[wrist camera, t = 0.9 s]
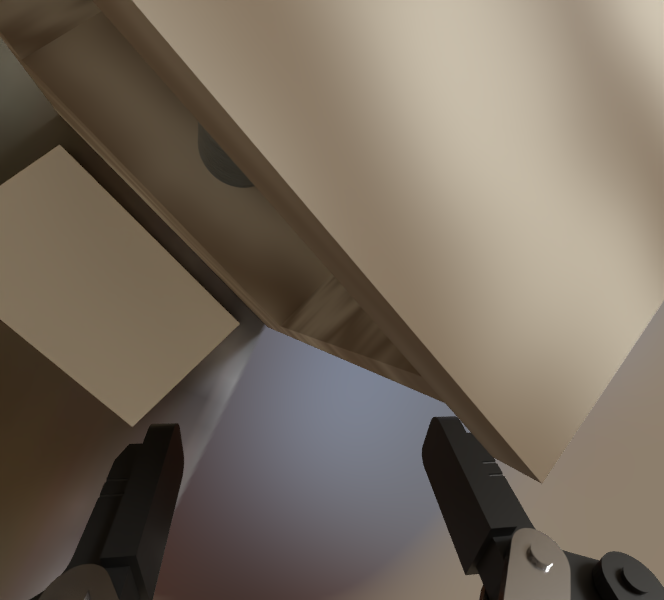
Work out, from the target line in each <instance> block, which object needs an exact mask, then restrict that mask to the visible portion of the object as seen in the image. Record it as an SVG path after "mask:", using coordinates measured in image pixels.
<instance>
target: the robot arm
mask: <svg viewBox="0 0 664 600" xmlns="http://www.w3.org/2000/svg"><path fill="white" fill-rule="evenodd" d="M422 459H423V465H424V468H425V470H426V473H427V476H428V478H429V481H430V483H431V486H432V489H433V491H434V494H435V497H436V499H437V502H438V504H439V507H440V510H441V512H442V515H443V518H444V520H445V523H446V525H447V528H448V531H449V533H450V536H451V538H452V541H453V544H454V546H455V549H456V552H457V554H458V557H459V559H460V562H461V565H462V567H463V570H464V572H465V575H471V574H479V575H480V577H481V580H482V582H483V586H482V589H481V593H480V598H479V600H664V587H663V586H662V585H661V583H660V582H659V581H658V579H657V578H656V577H655V575H654V574H653V573H652V572H651V571H650V570H649V569H648V568H646V567H645V566H644V565H643V564H642V563H641V562H639V561H638V560H636V559H635V558H633V557H631V556H629V555H627V554H624V553H621V552H615V551H613V552H608V553H606V554H605V555H604V556H603V557H602V558H601V559H600V561H599V560H595V559H592V558H588V557H585V556H581V555H577V554H574V553H570V552H567V551H564V550H562V549H561V548H560V547H559V546H558V545H557V543H556V542H555V541H553V540H552V539H551V538H550V537H549V536H547V535H546V534H544V533H542V532H540V531H538V530H536V529H535V528H534V526H533V525H532V523H531V522H530V520H529V518H528V516H527V515H526V513H525V511H524V510H523V508H522V506H521V504H520V502H519V501H518V499H517V497H516V496H515V494H514V492H513V490H512V489H511V487H510V485H509V484H508V482H507V480H506V478H505V477H504V476H503V475H502V471H501V470H500V468H499V466H498V464H496V463H495V459H494V457H492V456H491V455H490V453H489V452H488V451H487V450H486V449H485V448H484V447H483V446H482V444H481V443H480V442H479V441H478V440H477V439H476V438H475V436H474V435H473V434H472V433H466V431H465V429H464V427H463V425H462V423H461V422H460V420H459V419H458V418H457V417H455V416H454V417H433V418H432V420H431V422H430V425H429V428H428V431H427V435H426V438H425V441H424V444H423V447H422ZM183 469H184V453H183V447H182V440H181V433H180V427H179V424H178V423H175V424H151V425H150V427H149V429H148V431H147V434H146V436H145V439H144V442H143V444H129V445H128V446H127V447H126V448H125V449H124V451H123V452H122V453H121V454H120V455H119V456H118V457H117V458H116V459H115V461H114V463H113V465H112V468H111V470H110V472H109V475H108V477H107V481H106V482H105V484H104V486H103V488H102V491H101V493H100V498H98V500H97V502H96V504H95V507H94V509H93V511H92V514H91V516H90V518H89V521H88V523H87V525H86V528H85V530H84V532H83V534H82V537H81V539H80V541H79V544H78V546H77V548H76V551H75V553H74V555H73V557H72V559H71V561H70V563H69V565H68V566H67V568H66V569H65V571H64V572H63V573H62V574H61V575H60V576H59V577H57V578H56V579H55V580H54V581H53V582H52V583H51V584H50V585H49V586H48V587H47V588H46V590H44V591H43V592H41V593H40V594H38V595H37V596H35V597H33V598H32V599H30V600H153V596H154V592H155V587H156V583H157V579H158V575H159V571H160V567H161V563H162V559H163V555H164V550H165V546H166V542H167V538H168V534H169V530H170V526H171V521H172V518H173V513H174V509H175V505H176V501H177V497H178V493H179V489H180V485H181V481H182V476H183Z"/></svg>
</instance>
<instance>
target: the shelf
mask: <svg viewBox="0 0 664 600" xmlns="http://www.w3.org/2000/svg"><path fill="white" fill-rule="evenodd" d="M0 37H1V38H2V39H3V41H4V42H5V43H6V45H7V46H8V47H9V49H10V50H11V51H12V53H13V54H14V55H15V57H16V58H17V59H18V61H19V62H20V63H21V65H22V66H23V67H24V69H25V70H26V71H27V73H28V74H29V75H30V77H31V78H32V79H33V81H34V82H35V83H36V85H37V86H38V87H39V89H40V90H41V91H42V93H43V94H44V95H45V97H46V98H47V99H48V101H49V102H50V103H51V105H52V106H53V107H54V109H55V110H56V111H57V113H58V114H59V115H60V116H61V117H62V118H63V119H64V120H65V121H66V122H67V123H68V124H69V125H70V126H71V127H72V128H73V129H74V130H75V131H76V132H77V133H78V134H79V135H80V136H81V137H82V138H83V139H84V140H85V141H86V142H87V143H88V144H89V145H90V146H91V147H92V148H93V150H94V151H95V152H96V153H97V154H98V155H99V156H100V157H101V158H102V159H103V160H104V161H105V162H106V163H107V164H108V165H109V166H110V167H111V168H112V169H113V170H114V171H115V172H116V173H117V174H118V175H119V176H120V177H121V178H122V179H123V180H124V181H125V182H126V183H127V184H128V185H129V186H130V187H131V188H132V189H133V190H134V191H135V192H136V193H137V194H138V195H139V196H140V197H141V198H142V199H143V200H144V201H145V202H146V203H147V204H148V206H149V207H150V208H151V209H152V210H153V211H154V212H155V213H156V214H157V215H158V216H159V217H160V218H161V219H162V220H163V221H164V222H165V223H166V224H167V225H168V226H169V227H170V228H171V229H172V230H173V231H174V232H175V233H176V234H177V235H178V236H179V237H180V238H181V239H182V240H183V241H184V242H185V243H186V244H187V245H188V246H189V247H190V248H191V249H192V250H193V251H194V252H195V253H196V254H197V255H198V256H199V257H200V258H201V259H202V261H203V262H204V263H205V264H206V265H207V266H208V267H209V268H210V269H211V270H212V271H213V272H214V273H215V274H216V275H217V276H218V277H219V278H220V279H221V280H222V281H223V282H224V283H225V284H226V285H227V286H228V287H229V288H230V289H231V290H232V291H233V292H234V293H235V294H236V295H237V296H238V297H239V298H240V299H241V300H242V301H243V302H244V303H245V304H246V305H247V306H248V307H249V308H250V309H251V310H252V311H253V312H254V313H255V314H256V315H257V317H258V318H259V319H260V320H261V321H262V322H263V323H264V324H265V325H266V326H267V327H269V328H271V329H273V330H276V331H278V332H281V333H283V334H285V335H287V336H290V337H292V338H295V339H297V340H299V341H302V342H304V343H306V344H308V345H311V346H313V347H315V348H318V349H320V350H323V351H325V352H327V353H329V354H332V355H334V356H337V357H339V358H341V359H343V360H346V361H348V362H350V363H353V364H355V365H357V366H360V367H362V368H365V369H367V370H369V371H372V372H374V373H376V374H379V375H381V376H383V377H385V378H388V379H391V380H392V381H395V382H397V383H400V384H402V385H404V386H407V387H409V388H411V389H414V390H416V391H418V392H421V393H423V394H425V395H428V396H430V397H433V398H435V399H437V400H439V401H442V402H444V403H446V404H447V406H448V407H449V408H450V409H451V410H452V411H453V412H454V414H455V415H456V416H457V417H458V418H459V419H460V420H461V422H462V423H463V424H464V425H465V426H466V427H467V428H468V430H469V431H470V432H471V433H472V434H473V435H474V436H475V438H476V439H477V440H478V441H479V442H480V443H481V444H482V446H483V447H484V448H485V449H486V450H487V451H488V452H489V453H490V455H491V456H492V457H494V458H495V459H497V460H499V461H501V462H503V463H505V464H507V465H509V466H510V467H512V468H514V469H516V470H518V471H520V472H522V473H523V474H525V475H527V476H529V477H531V478H532V479H534V480H536V481H538V482H540V483H543V481H544V480H545V479H546V477H547V476H548V474H549V472H550V471H551V469H552V468H553V466H554V465H555V463H556V462H557V460H558V459H559V457H560V456H561V454H562V453H563V451H564V450H565V448H566V447H567V445H568V444H569V442H570V441H571V439H572V438H573V436H574V435H575V433H576V432H577V430H578V429H579V427H580V426H581V424H582V423H583V421H584V420H585V418H586V417H587V415H588V414H589V412H590V411H591V409H592V408H593V406H594V405H595V403H596V402H597V400H598V399H599V397H600V396H601V394H602V393H603V391H604V390H605V388H606V387H607V385H608V384H609V382H610V381H611V379H612V378H613V376H614V375H615V373H616V372H617V370H618V369H619V367H620V366H621V364H622V363H623V361H624V360H625V358H626V357H627V355H628V354H629V352H630V351H631V349H632V348H633V346H634V345H635V343H636V342H637V340H638V339H639V337H640V335H641V334H642V333H643V331H644V329H645V328H646V327H647V325H648V324H649V322H650V321H651V319H652V318H653V316H654V315H655V313H656V312H657V310H658V308H659V307H660V305H661V304H662V302H663V301H664V0H0ZM198 122H199V123H200V124H201V125H202V126H203V127H204V129H205V130H206V131H207V132H208V133H209V134H210V135H211V137H212V138H213V139H214V140H215V141H216V142H217V143H218V145H219V146H220V147H221V148H222V149H223V150H224V151H225V153H226V154H227V155H228V156H229V157H230V158H231V159H232V160H233V162H234V163H235V164H236V165H237V166H238V167H239V168H240V170H241V171H242V172H243V173H244V174H245V175H246V176H247V178H248V179H249V180H250V181H251V182H252V183H253V184H254V187H248V188H239V187H234V186H230V185H228V184H225V183H223V182H221V181H220V180H218V179H217V178H216V177H214V176H213V175H212V174H211V173H210V172H209V170H208V169H207V168H206V166H205V165H204V163H203V161H202V159H201V157H200V154H199V149H198Z"/></svg>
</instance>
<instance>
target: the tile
mask: <svg viewBox="0 0 664 600" xmlns="http://www.w3.org/2000/svg"><path fill="white" fill-rule="evenodd" d="M0 320H2V321H3V322H4V323H5V324H6V325H8V326H9V327H10V328H11V329H13V330H14V331H15V332H16V333H18V334H19V335H20V336H21V337H22V338H24V339H25V340H26V341H27V342H29V343H30V344H31V345H32V346H33V347H35V348H36V349H37V350H38V351H40V352H41V353H42V354H43V355H45V356H46V357H47V358H48V359H49V360H51V361H52V362H53V363H54V364H56V365H57V366H58V367H59V368H60V369H62V370H63V371H64V372H65V373H67V374H68V375H69V376H70V377H72V378H73V379H74V380H75V381H76V382H78V383H79V384H80V385H81V386H83V387H84V388H85V389H86V390H87V391H89V392H90V393H91V394H92V395H94V396H95V397H96V398H97V399H98V400H100V401H101V402H102V403H103V404H105V405H106V406H107V407H108V408H110V409H111V410H112V411H113V412H114V413H116V414H117V415H118V416H119V417H121V418H122V419H123V420H124V421H125V422H127V423H128V424H129V425H130V426H132V427H133V426H134V425H135V424H136V423H137V422H138V421H139V420H140V419H141V418H142V417H143V416H144V415H145V414H146V413H148V412H149V411H150V410H151V409H152V408H153V407H154V406H155V405H156V404H157V403H158V402H159V401H160V400H161V399H162V398H163V397H164V396H165V395H166V394H167V393H168V392H169V391H170V390H172V389H173V388H174V387H175V386H176V385H177V384H178V383H179V382H180V381H181V380H182V379H183V378H184V377H185V376H186V375H187V374H188V373H189V372H190V371H191V370H192V369H193V368H194V367H196V366H197V365H198V364H199V363H200V362H201V361H202V360H203V359H204V358H205V357H206V356H207V355H208V354H209V353H210V352H211V351H212V350H213V349H214V348H215V347H216V346H217V345H218V344H220V343H221V342H222V341H223V340H224V339H225V338H226V337H227V336H228V335H229V334H230V333H231V332H232V331H233V330H234V329H235V328H236V327H237V326H238V325H239V324H240V323H239V322H238V321H237V320H236V319H235V318H234V317H233V316H232V315H231V314H230V313H229V312H228V311H227V310H226V309H225V308H224V307H223V306H221V305H220V304H219V303H218V302H217V301H216V300H215V299H214V298H213V297H212V296H211V295H210V294H209V293H208V292H207V291H206V290H205V289H204V288H203V287H202V286H201V285H200V284H199V283H198V282H197V281H196V280H195V279H194V278H193V277H192V276H191V275H190V274H189V273H188V272H187V271H186V270H185V269H184V268H183V267H182V266H181V265H180V264H179V263H178V262H177V261H176V260H175V259H174V258H173V257H172V256H171V255H170V254H169V253H168V252H167V251H166V250H165V249H164V248H163V247H162V246H161V245H160V244H159V243H158V242H157V241H156V240H155V239H154V238H153V237H152V236H151V235H150V234H149V233H148V232H147V231H146V230H145V229H144V228H143V227H142V226H141V225H140V224H139V223H138V222H137V221H136V220H135V219H134V218H133V217H132V216H131V215H130V214H129V213H128V212H127V211H126V210H125V209H124V208H123V207H122V206H121V205H120V204H119V203H118V202H117V201H116V200H115V199H114V198H113V197H112V196H111V195H110V194H109V193H108V192H107V191H106V190H105V189H104V188H103V187H102V186H101V185H100V184H99V183H98V182H97V181H96V180H95V179H94V178H93V177H92V176H91V175H90V174H89V173H88V172H87V171H86V170H85V169H84V168H83V167H82V166H81V165H80V164H79V163H78V162H77V161H76V160H75V159H74V158H73V157H72V156H71V155H70V154H69V153H68V152H67V151H66V150H65V149H64V148H63V147H62V146H61V145H58V146H57V147H55V148H54V149H52V150H51V151H50V152H48V153H47V154H45V155H44V156H42V157H41V158H39V159H38V160H36V161H35V162H34V163H32V164H31V165H29V166H28V167H26V168H25V169H23V170H22V171H20V172H19V173H18V174H16V175H15V176H13V177H12V178H10V179H9V180H7V181H6V182H5V183H3V184H2V185H0Z"/></svg>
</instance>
